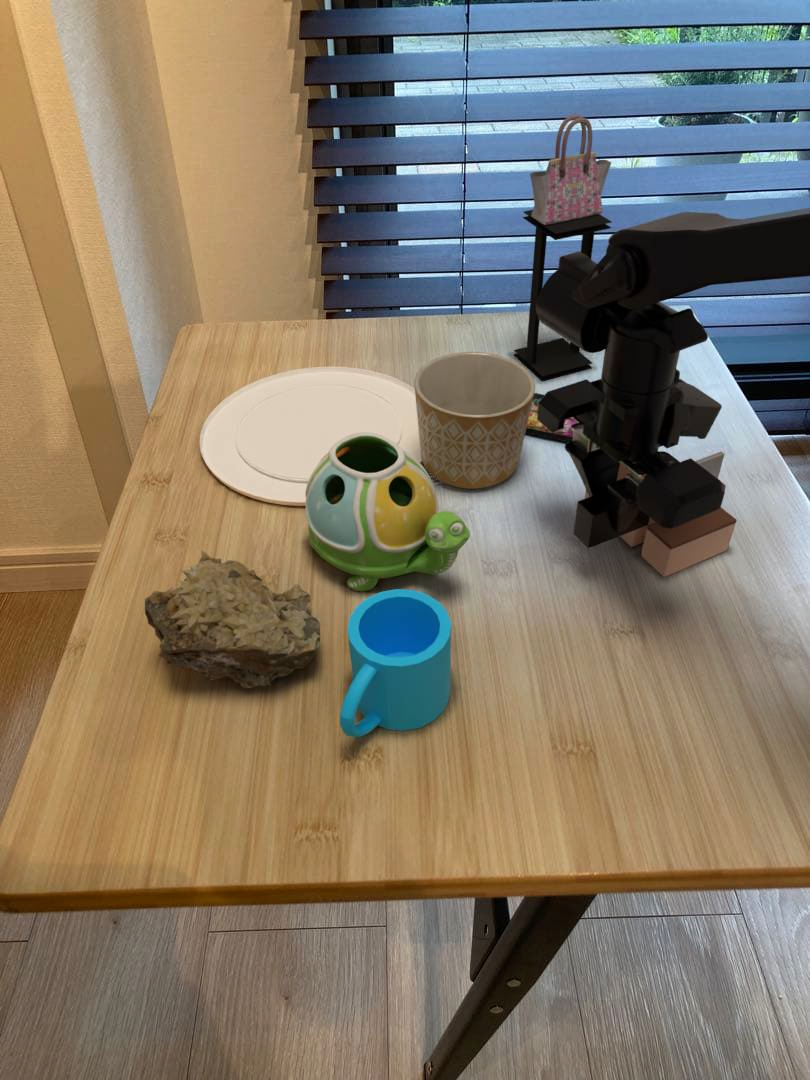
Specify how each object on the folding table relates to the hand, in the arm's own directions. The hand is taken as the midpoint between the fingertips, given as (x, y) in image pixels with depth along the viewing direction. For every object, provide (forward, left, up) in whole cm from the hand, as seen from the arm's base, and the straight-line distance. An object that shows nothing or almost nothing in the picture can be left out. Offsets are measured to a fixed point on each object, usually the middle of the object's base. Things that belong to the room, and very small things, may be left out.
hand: (611, 522), depth 79 cm
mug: (-5, +26, -6) cm, 27 cm away
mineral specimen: (+7, +34, -6) cm, 35 cm away
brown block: (-2, -8, -6) cm, 10 cm away
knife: (0, -5, -1) cm, 5 cm away
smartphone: (+23, -10, -6) cm, 26 cm away
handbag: (+35, -18, -6) cm, 40 cm away
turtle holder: (+12, +18, -6) cm, 22 cm away
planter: (+21, +3, -6) cm, 22 cm away
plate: (+35, +16, -6) cm, 38 cm away
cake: (+5, -8, -6) cm, 11 cm away
